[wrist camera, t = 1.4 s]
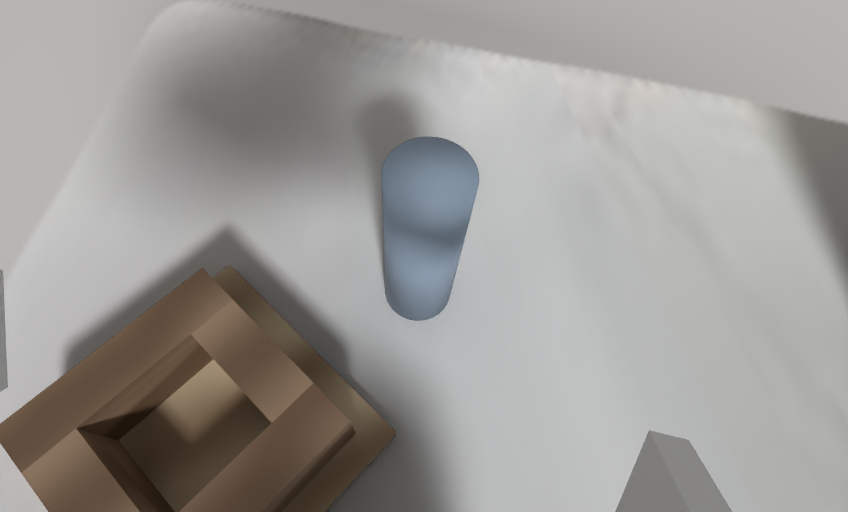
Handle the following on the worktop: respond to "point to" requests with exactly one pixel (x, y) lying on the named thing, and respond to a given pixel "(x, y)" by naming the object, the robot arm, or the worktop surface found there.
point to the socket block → (197, 415)
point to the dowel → (425, 222)
